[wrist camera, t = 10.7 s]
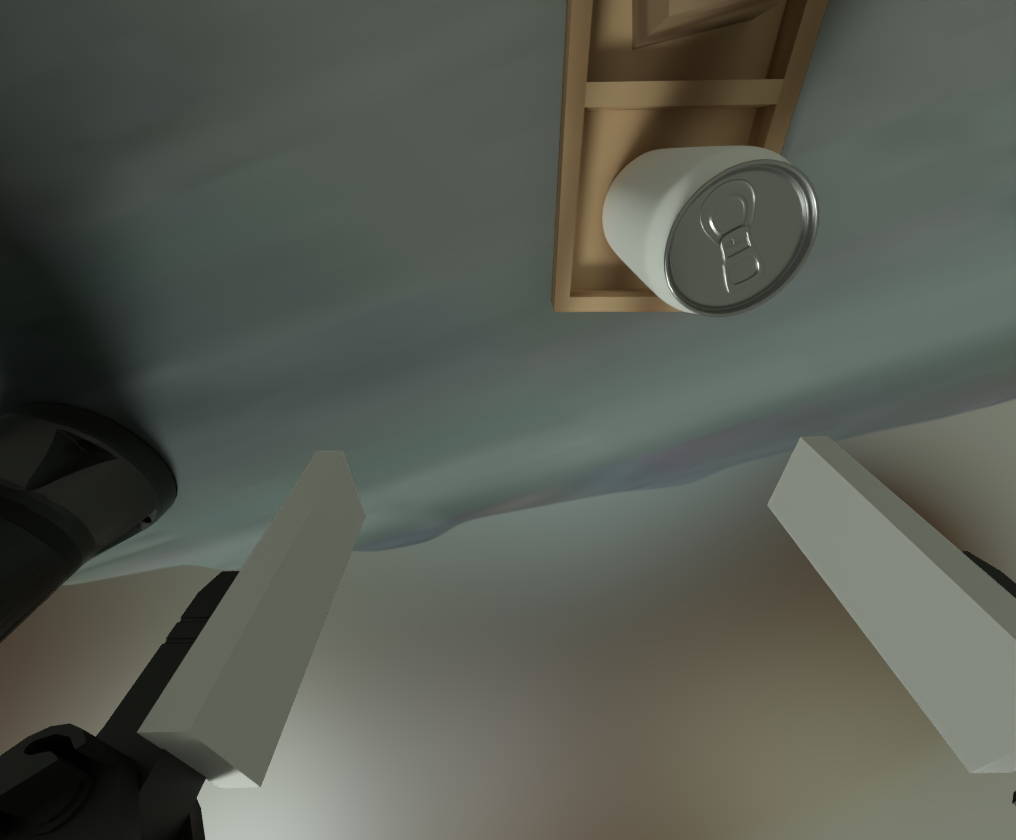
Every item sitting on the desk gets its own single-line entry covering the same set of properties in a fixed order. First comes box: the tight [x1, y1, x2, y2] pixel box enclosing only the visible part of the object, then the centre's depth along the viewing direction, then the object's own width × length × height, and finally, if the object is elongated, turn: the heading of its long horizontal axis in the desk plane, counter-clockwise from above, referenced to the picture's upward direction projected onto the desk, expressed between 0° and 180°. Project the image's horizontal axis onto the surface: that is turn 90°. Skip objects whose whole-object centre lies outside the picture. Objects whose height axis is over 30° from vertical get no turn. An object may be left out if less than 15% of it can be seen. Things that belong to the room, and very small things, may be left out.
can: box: [602, 146, 819, 317], centre depth 20 cm, size 6×6×12 cm
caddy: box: [551, 0, 829, 312], centre depth 21 cm, size 12×23×3 cm, turn 1°
